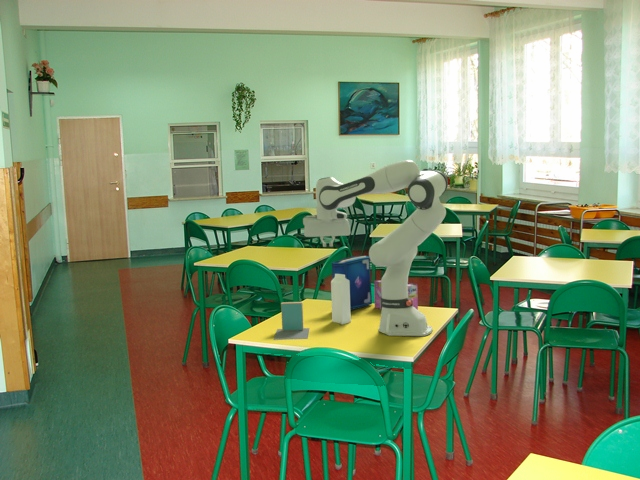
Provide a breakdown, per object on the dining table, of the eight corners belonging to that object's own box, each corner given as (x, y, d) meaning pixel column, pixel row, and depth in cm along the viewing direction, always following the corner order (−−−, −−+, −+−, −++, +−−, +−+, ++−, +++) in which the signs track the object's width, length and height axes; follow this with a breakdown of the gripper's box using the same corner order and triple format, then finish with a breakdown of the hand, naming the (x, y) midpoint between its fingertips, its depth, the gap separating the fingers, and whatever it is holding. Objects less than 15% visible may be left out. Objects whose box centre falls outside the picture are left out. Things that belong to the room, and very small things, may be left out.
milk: (342, 324, 287) (340, 275, 284) (332, 322, 291) (330, 274, 288) (351, 321, 291) (349, 273, 289) (340, 320, 295) (338, 272, 293)
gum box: (372, 307, 320) (371, 280, 318) (384, 304, 324) (383, 278, 323) (406, 315, 301) (406, 286, 299) (418, 312, 305) (418, 283, 304)
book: (341, 313, 309) (340, 261, 306) (331, 311, 314) (329, 260, 312) (372, 305, 324) (371, 255, 321) (362, 303, 329) (361, 254, 326)
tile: (282, 329, 279) (281, 302, 278) (303, 329, 279) (302, 301, 277) (282, 331, 277) (281, 303, 275) (303, 330, 277) (302, 302, 275)
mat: (277, 330, 281) (277, 329, 281) (309, 329, 280) (309, 328, 280) (273, 341, 264) (273, 339, 264) (307, 340, 263) (307, 338, 263)
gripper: (302, 216, 278) (303, 248, 280) (350, 214, 277) (351, 246, 279) (303, 215, 284) (304, 246, 286) (349, 213, 284) (350, 244, 285)
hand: (327, 246), depth 282 cm, fingers closed
